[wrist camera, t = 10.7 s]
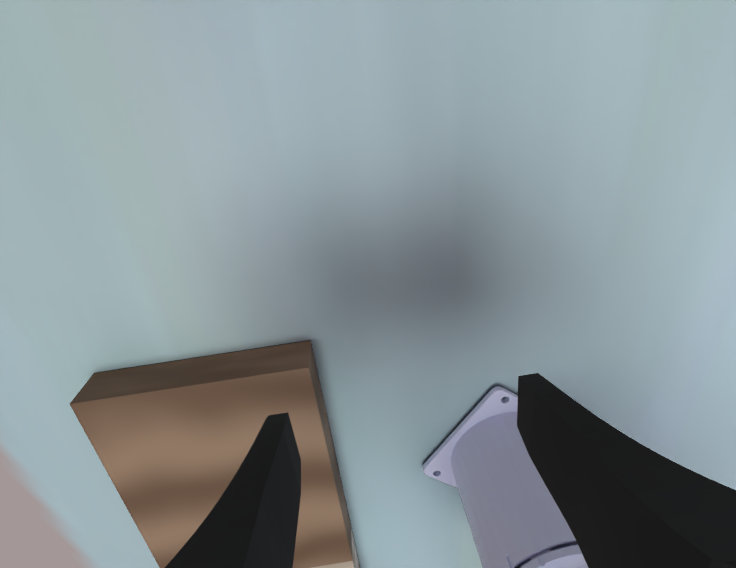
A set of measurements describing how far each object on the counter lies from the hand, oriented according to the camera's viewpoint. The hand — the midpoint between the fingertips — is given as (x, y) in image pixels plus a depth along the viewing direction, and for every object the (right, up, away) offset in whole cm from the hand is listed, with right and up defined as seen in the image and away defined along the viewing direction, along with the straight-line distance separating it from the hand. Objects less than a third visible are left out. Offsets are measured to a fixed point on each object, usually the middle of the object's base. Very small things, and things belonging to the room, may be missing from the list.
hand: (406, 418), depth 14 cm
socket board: (-9, -10, +16) cm, 21 cm away
